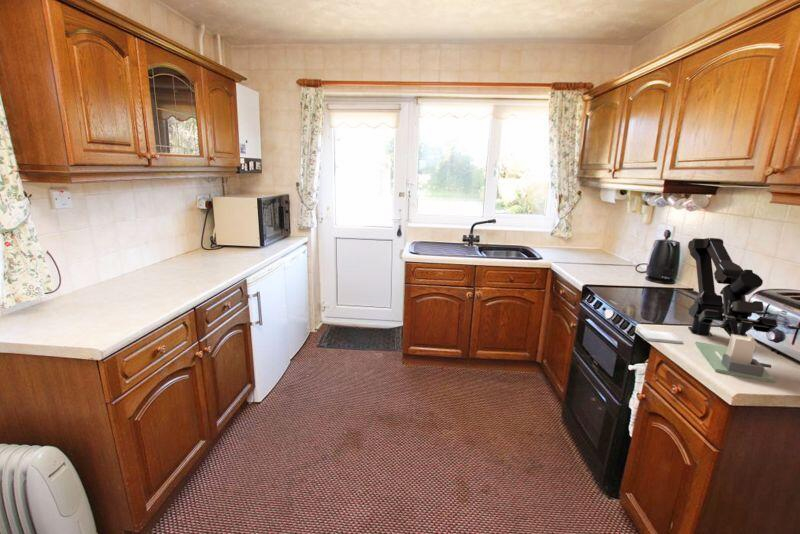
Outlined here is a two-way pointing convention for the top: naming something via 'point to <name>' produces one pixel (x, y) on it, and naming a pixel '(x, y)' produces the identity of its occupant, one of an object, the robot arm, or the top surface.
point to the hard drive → (658, 336)
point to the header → (743, 366)
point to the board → (715, 358)
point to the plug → (742, 349)
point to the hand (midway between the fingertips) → (738, 345)
